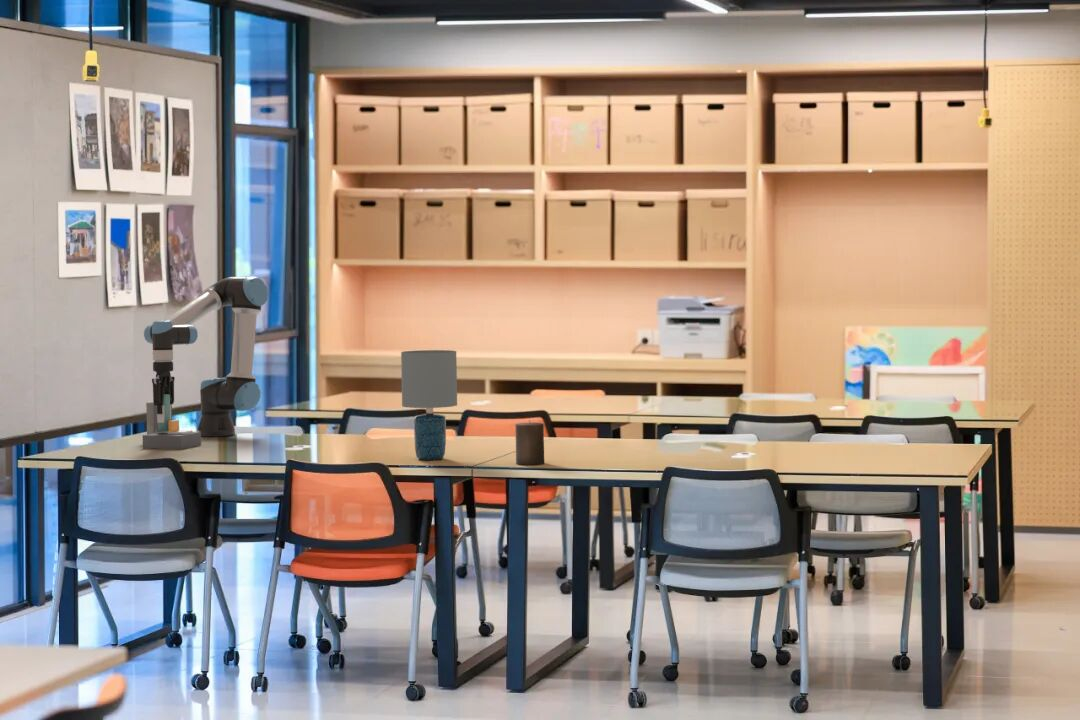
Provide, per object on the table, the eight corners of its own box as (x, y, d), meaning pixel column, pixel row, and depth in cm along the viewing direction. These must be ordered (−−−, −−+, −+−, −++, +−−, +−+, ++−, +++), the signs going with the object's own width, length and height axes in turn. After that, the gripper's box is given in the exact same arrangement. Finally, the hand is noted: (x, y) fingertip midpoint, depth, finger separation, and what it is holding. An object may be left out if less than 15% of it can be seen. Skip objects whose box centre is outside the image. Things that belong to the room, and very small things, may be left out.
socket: (163, 443, 616) (163, 431, 616) (201, 444, 612) (200, 431, 611) (142, 448, 601) (142, 435, 600) (180, 449, 596) (180, 436, 596)
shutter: (176, 432, 609) (176, 419, 609) (192, 432, 607) (192, 419, 607) (167, 434, 602) (167, 421, 602) (183, 434, 600) (183, 421, 600)
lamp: (413, 463, 543) (411, 353, 541) (395, 457, 561) (393, 351, 559) (465, 460, 551) (464, 351, 549) (446, 454, 568) (445, 349, 566)
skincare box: (154, 443, 618) (153, 403, 617) (145, 442, 623) (144, 402, 622) (174, 441, 623) (173, 401, 622) (165, 440, 628) (164, 400, 628)
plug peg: (162, 430, 609) (161, 393, 608) (172, 430, 608) (171, 394, 607) (156, 431, 605) (155, 394, 604) (166, 431, 604) (166, 394, 603)
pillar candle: (548, 464, 537) (548, 420, 536) (521, 465, 533) (520, 421, 533) (538, 461, 546) (537, 418, 545) (511, 463, 542) (511, 419, 542)
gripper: (165, 359, 614) (166, 419, 616) (142, 362, 598) (143, 423, 599) (182, 359, 612) (184, 420, 614) (160, 362, 596) (161, 424, 597)
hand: (164, 421), depth 606 cm, fingers closed on plug peg, 4 cm apart
